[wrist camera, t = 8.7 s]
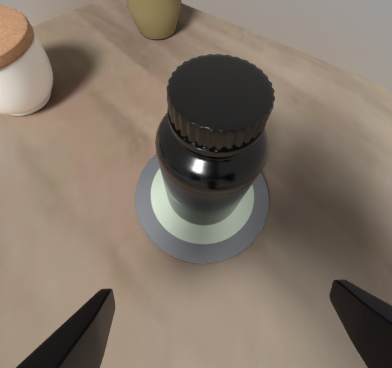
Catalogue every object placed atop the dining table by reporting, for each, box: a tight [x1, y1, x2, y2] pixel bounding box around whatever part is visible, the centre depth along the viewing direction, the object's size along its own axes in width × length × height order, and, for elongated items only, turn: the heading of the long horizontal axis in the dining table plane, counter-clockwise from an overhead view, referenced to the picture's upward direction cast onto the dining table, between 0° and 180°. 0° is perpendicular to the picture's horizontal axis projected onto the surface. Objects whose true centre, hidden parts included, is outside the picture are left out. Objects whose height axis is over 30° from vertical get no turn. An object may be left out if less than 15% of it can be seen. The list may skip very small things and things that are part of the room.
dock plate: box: [135, 154, 269, 264], centre depth 20 cm, size 13×13×1 cm
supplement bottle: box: [155, 54, 275, 226], centre depth 14 cm, size 7×7×12 cm
